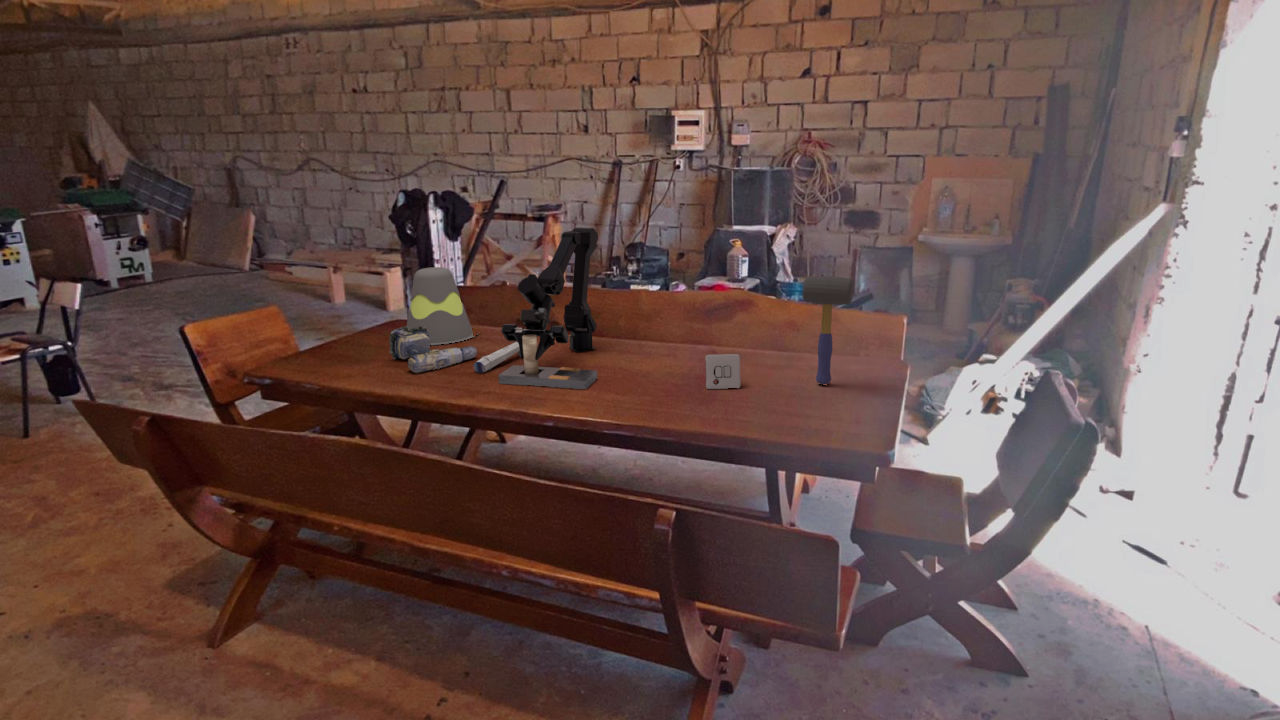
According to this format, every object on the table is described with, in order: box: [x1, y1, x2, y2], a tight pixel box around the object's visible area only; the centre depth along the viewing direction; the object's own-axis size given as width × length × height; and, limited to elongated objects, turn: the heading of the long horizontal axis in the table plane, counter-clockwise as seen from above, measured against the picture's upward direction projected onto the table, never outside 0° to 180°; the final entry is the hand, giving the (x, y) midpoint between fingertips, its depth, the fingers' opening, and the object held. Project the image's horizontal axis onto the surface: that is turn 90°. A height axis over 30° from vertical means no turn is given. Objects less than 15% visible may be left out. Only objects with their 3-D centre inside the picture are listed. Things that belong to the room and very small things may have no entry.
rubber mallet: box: [802, 275, 854, 384], centre depth 200 cm, size 12×8×30 cm, turn 67°
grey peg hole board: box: [498, 364, 598, 390], centre depth 212 cm, size 26×10×3 cm, turn 74°
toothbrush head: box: [473, 341, 520, 374], centre depth 232 cm, size 5×7×25 cm
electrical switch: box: [704, 353, 741, 390], centre depth 204 cm, size 9×5×9 cm, turn 90°
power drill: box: [388, 325, 478, 374], centre depth 234 cm, size 22×23×11 cm
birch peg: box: [522, 334, 539, 375], centre depth 212 cm, size 4×4×13 cm
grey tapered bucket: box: [406, 266, 479, 346], centre depth 263 cm, size 28×28×24 cm
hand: (529, 359), depth 211 cm, fingers closed on birch peg, 4 cm apart
